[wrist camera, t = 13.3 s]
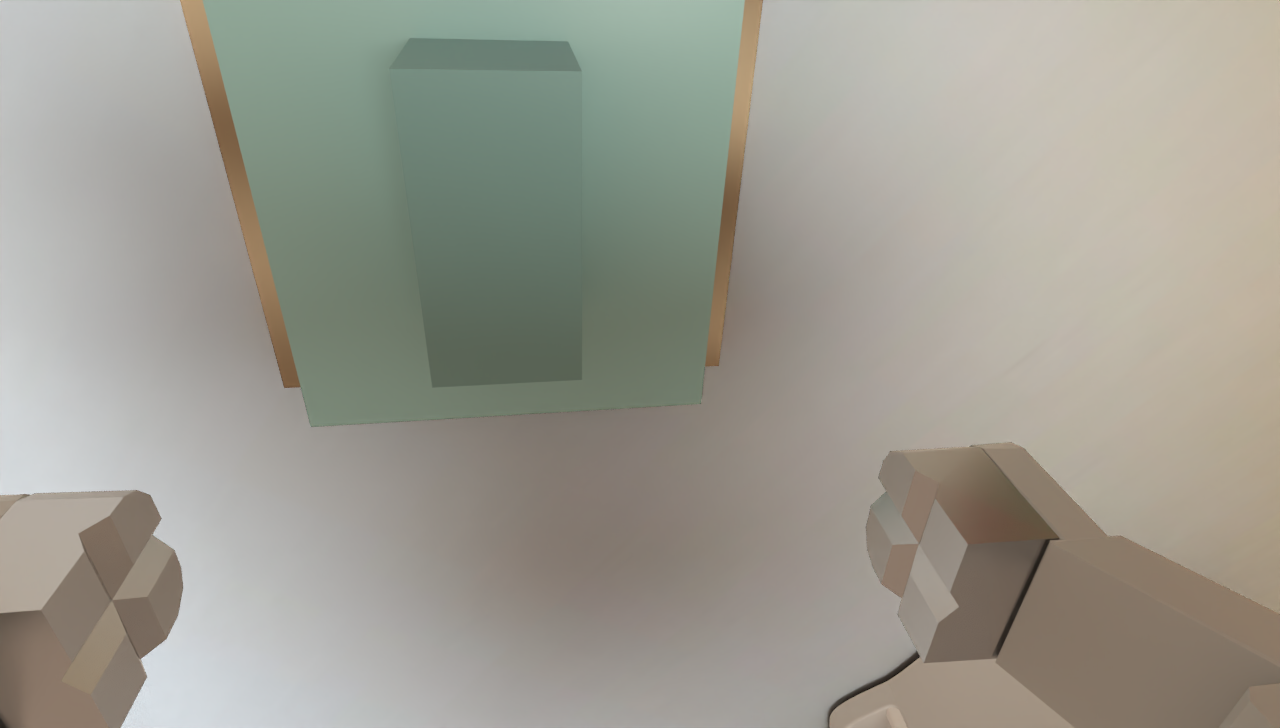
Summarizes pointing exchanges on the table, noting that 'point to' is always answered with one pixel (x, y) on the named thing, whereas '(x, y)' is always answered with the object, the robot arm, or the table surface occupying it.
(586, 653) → the table surface
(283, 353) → the cork mat
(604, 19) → the lid
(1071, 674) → the robot arm
